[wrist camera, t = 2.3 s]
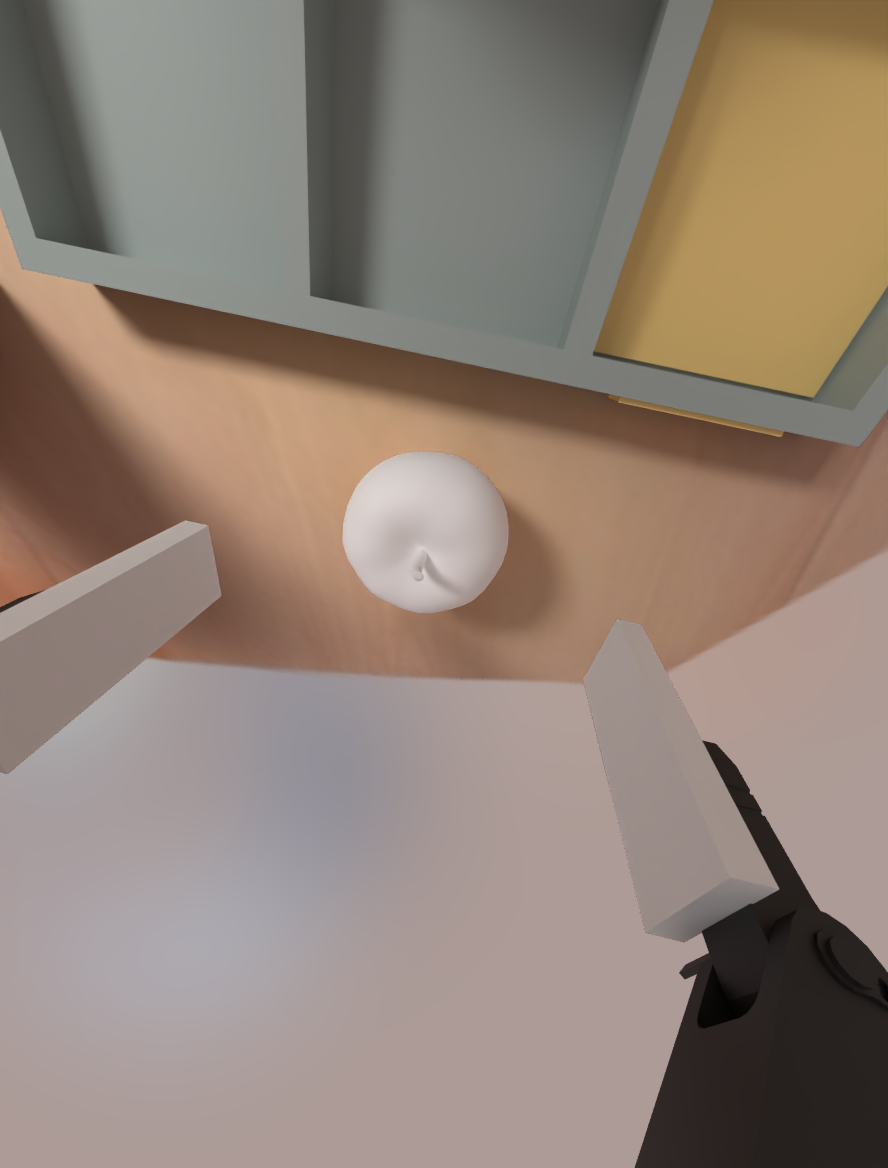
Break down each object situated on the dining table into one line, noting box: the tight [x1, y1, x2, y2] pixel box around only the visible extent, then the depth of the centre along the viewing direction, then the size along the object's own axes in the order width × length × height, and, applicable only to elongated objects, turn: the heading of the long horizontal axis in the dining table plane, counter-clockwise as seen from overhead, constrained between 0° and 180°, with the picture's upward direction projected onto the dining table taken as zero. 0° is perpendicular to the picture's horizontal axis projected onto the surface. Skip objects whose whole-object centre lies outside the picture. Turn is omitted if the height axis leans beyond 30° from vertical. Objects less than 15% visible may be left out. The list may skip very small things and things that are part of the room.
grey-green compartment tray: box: [0, 0, 888, 447], centre depth 11 cm, size 11×31×3 cm, turn 80°
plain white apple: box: [342, 452, 509, 614], centre depth 16 cm, size 7×7×8 cm
